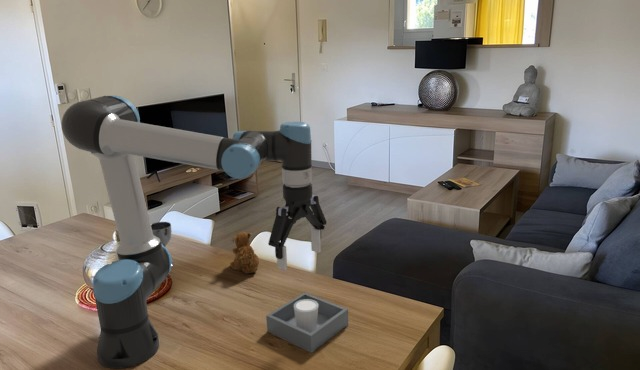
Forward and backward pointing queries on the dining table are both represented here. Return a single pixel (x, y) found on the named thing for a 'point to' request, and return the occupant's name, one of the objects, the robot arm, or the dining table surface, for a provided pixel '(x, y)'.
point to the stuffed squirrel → (244, 254)
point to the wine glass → (162, 232)
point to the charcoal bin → (285, 327)
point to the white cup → (306, 314)
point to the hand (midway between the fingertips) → (299, 259)
